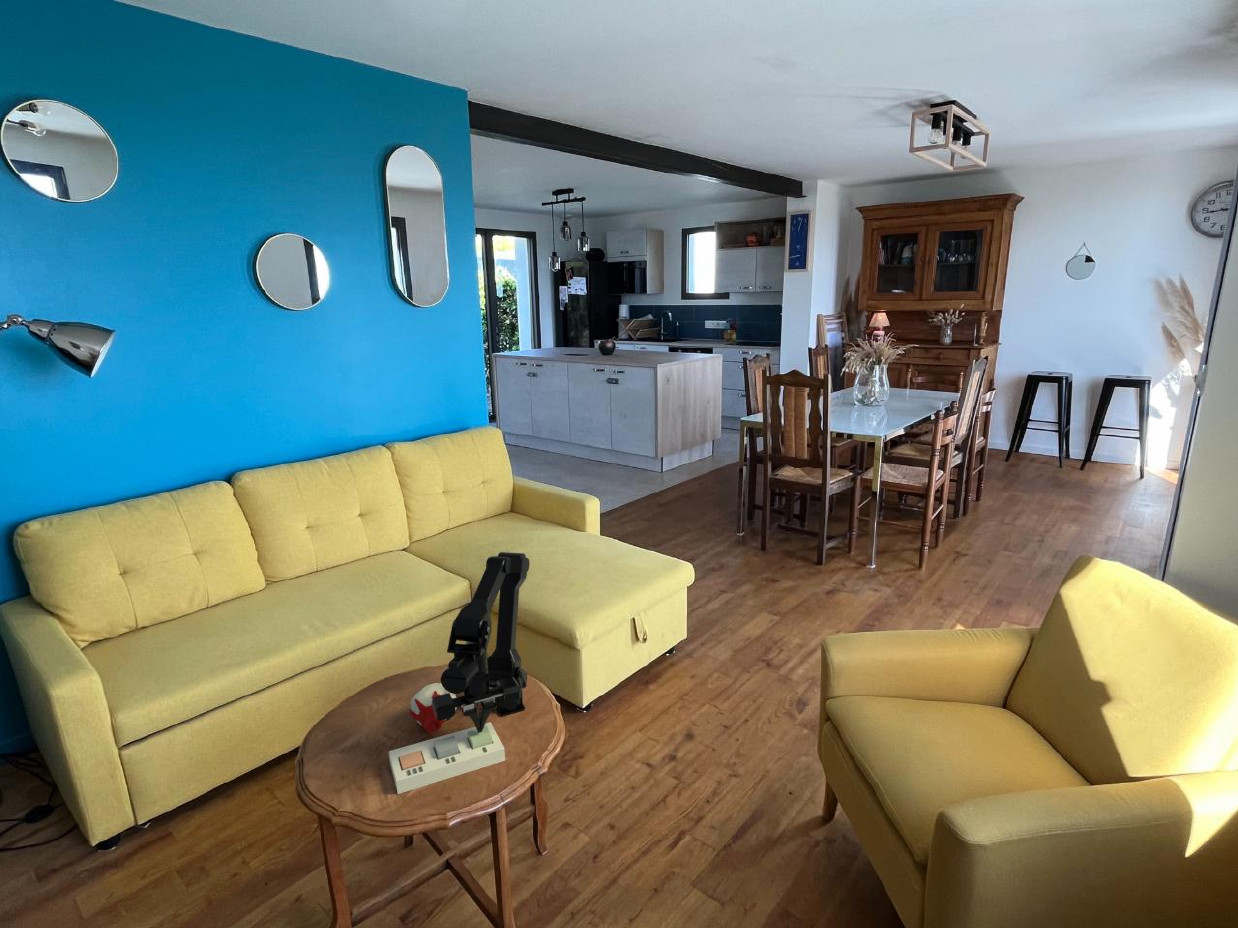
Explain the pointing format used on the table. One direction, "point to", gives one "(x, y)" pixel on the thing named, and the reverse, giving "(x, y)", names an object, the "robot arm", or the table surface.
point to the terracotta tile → (411, 760)
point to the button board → (444, 760)
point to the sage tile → (479, 738)
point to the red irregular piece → (427, 707)
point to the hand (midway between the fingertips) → (479, 731)
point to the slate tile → (446, 747)
